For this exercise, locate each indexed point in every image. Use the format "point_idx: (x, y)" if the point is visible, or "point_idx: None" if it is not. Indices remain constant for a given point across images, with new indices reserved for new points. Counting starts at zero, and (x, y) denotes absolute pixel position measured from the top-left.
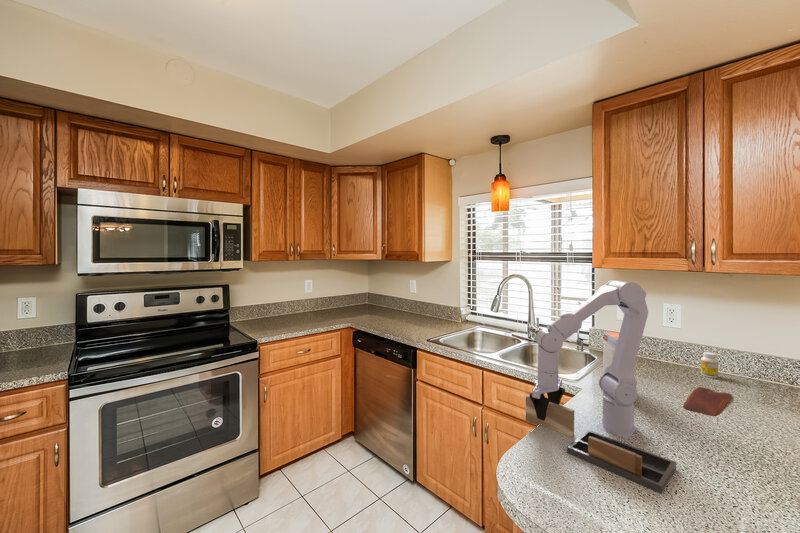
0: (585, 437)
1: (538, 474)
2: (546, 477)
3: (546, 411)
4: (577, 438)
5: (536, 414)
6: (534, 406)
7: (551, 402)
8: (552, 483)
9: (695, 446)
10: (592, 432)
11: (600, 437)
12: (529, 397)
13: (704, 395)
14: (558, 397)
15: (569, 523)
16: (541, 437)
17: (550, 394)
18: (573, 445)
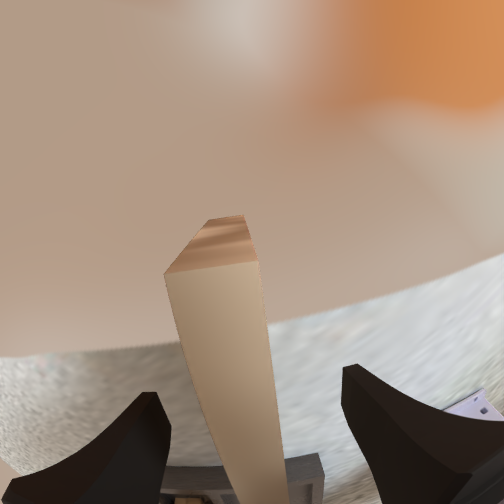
0: None
1: (23, 433)
2: (34, 447)
3: (160, 483)
4: (219, 490)
5: (129, 406)
6: (87, 447)
7: (285, 495)
8: (38, 457)
9: None
10: (315, 487)
11: (311, 494)
12: (179, 337)
13: None
14: (383, 499)
15: None
16: (138, 382)
17: (404, 465)
18: (164, 492)
